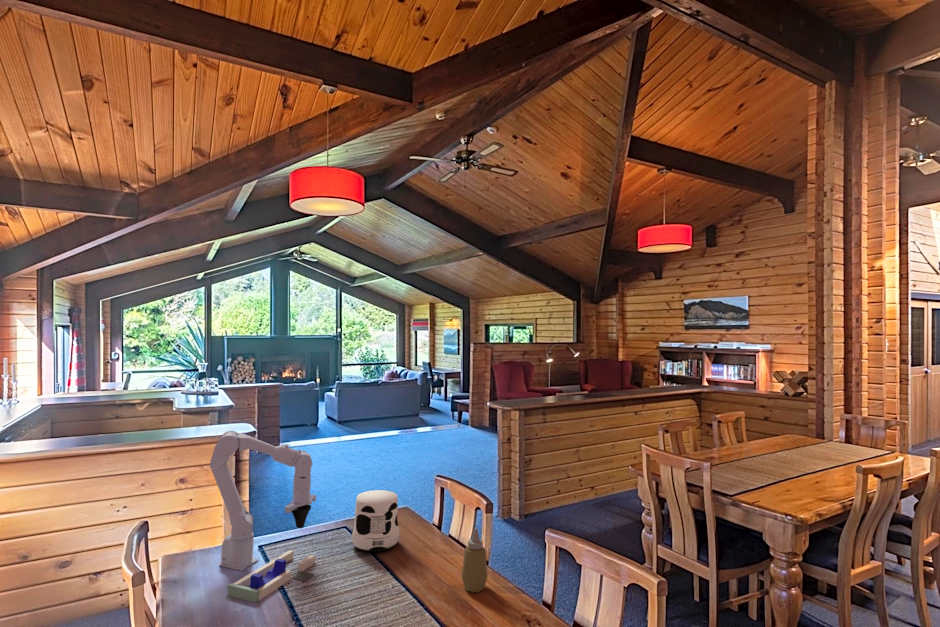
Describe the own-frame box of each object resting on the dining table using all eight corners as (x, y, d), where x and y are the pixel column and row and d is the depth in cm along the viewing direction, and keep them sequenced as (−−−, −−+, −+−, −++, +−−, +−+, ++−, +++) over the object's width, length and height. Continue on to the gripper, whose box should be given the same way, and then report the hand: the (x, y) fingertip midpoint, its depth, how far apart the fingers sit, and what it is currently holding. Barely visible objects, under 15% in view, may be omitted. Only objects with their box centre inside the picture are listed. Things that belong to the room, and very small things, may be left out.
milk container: (376, 532, 193) (377, 486, 194) (408, 544, 183) (410, 495, 184) (341, 547, 179) (343, 497, 180) (374, 560, 169) (376, 507, 170)
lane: (227, 595, 144) (227, 585, 144) (289, 557, 169) (289, 548, 169) (256, 602, 140) (256, 591, 140) (315, 562, 166) (315, 553, 166)
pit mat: (291, 578, 155) (291, 578, 155) (301, 571, 159) (301, 571, 159) (304, 581, 153) (304, 581, 153) (314, 574, 158) (314, 573, 158)
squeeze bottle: (490, 584, 154) (491, 526, 155) (482, 597, 146) (484, 536, 148) (466, 580, 157) (467, 522, 158) (457, 592, 149) (459, 531, 150)
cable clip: (273, 576, 156) (274, 557, 156) (285, 579, 155) (286, 559, 155) (245, 595, 144) (246, 574, 145) (258, 598, 143) (259, 577, 143)
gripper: (297, 495, 164) (295, 536, 163) (323, 483, 177) (322, 521, 177) (280, 492, 166) (278, 533, 165) (307, 481, 180) (305, 519, 179)
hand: (300, 527), depth 171 cm, fingers closed
